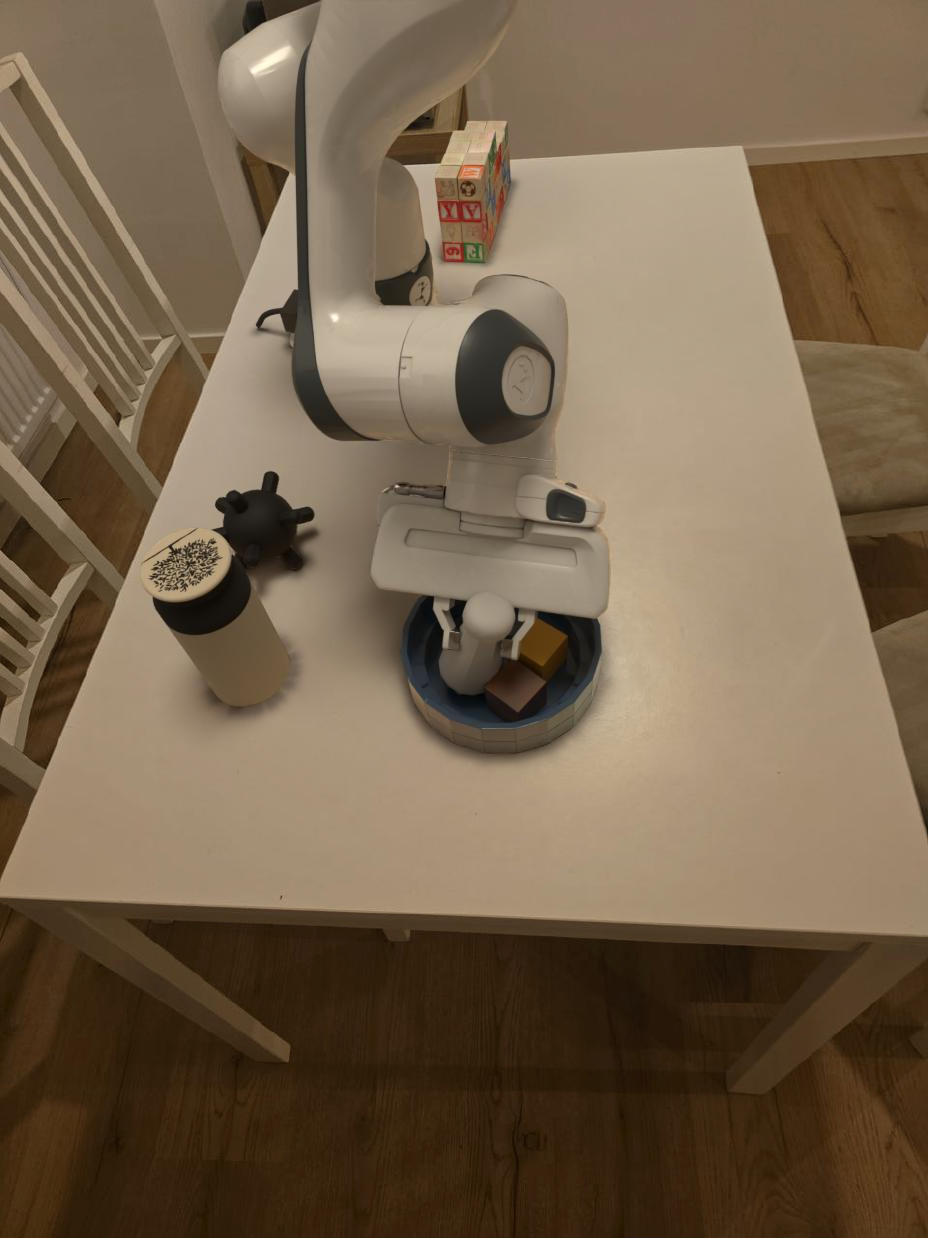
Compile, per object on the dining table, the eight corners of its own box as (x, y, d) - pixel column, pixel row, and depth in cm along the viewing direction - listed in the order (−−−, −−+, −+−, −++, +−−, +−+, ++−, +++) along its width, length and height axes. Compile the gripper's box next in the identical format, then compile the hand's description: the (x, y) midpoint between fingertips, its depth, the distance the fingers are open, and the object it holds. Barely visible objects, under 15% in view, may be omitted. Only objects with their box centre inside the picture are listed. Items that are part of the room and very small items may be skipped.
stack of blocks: (472, 182, 128) (465, 97, 118) (511, 182, 127) (508, 97, 117) (443, 261, 117) (433, 175, 106) (486, 263, 115) (480, 176, 105)
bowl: (371, 687, 78) (360, 658, 74) (486, 564, 85) (482, 531, 81) (523, 794, 71) (521, 769, 66) (634, 650, 78) (640, 618, 74)
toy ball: (342, 558, 84) (227, 589, 79) (313, 561, 93) (210, 589, 88) (314, 457, 82) (196, 482, 77) (288, 470, 92) (181, 494, 87)
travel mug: (304, 681, 79) (248, 570, 64) (230, 723, 77) (155, 618, 63) (271, 626, 83) (211, 509, 68) (200, 664, 81) (122, 553, 67)
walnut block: (486, 707, 75) (483, 686, 72) (514, 678, 77) (512, 657, 73) (519, 732, 74) (518, 712, 70) (547, 702, 75) (547, 681, 72)
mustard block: (508, 666, 78) (507, 644, 74) (533, 637, 79) (532, 614, 76) (542, 687, 76) (542, 666, 73) (567, 658, 78) (567, 635, 74)
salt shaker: (506, 670, 78) (539, 603, 66) (476, 715, 75) (506, 653, 64) (455, 638, 78) (479, 566, 67) (423, 682, 76) (443, 615, 64)
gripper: (366, 478, 65) (354, 643, 68) (621, 507, 62) (596, 681, 65) (390, 477, 72) (377, 629, 74) (623, 503, 68) (600, 662, 71)
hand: (481, 653), depth 69 cm, fingers closed on salt shaker, 3 cm apart
